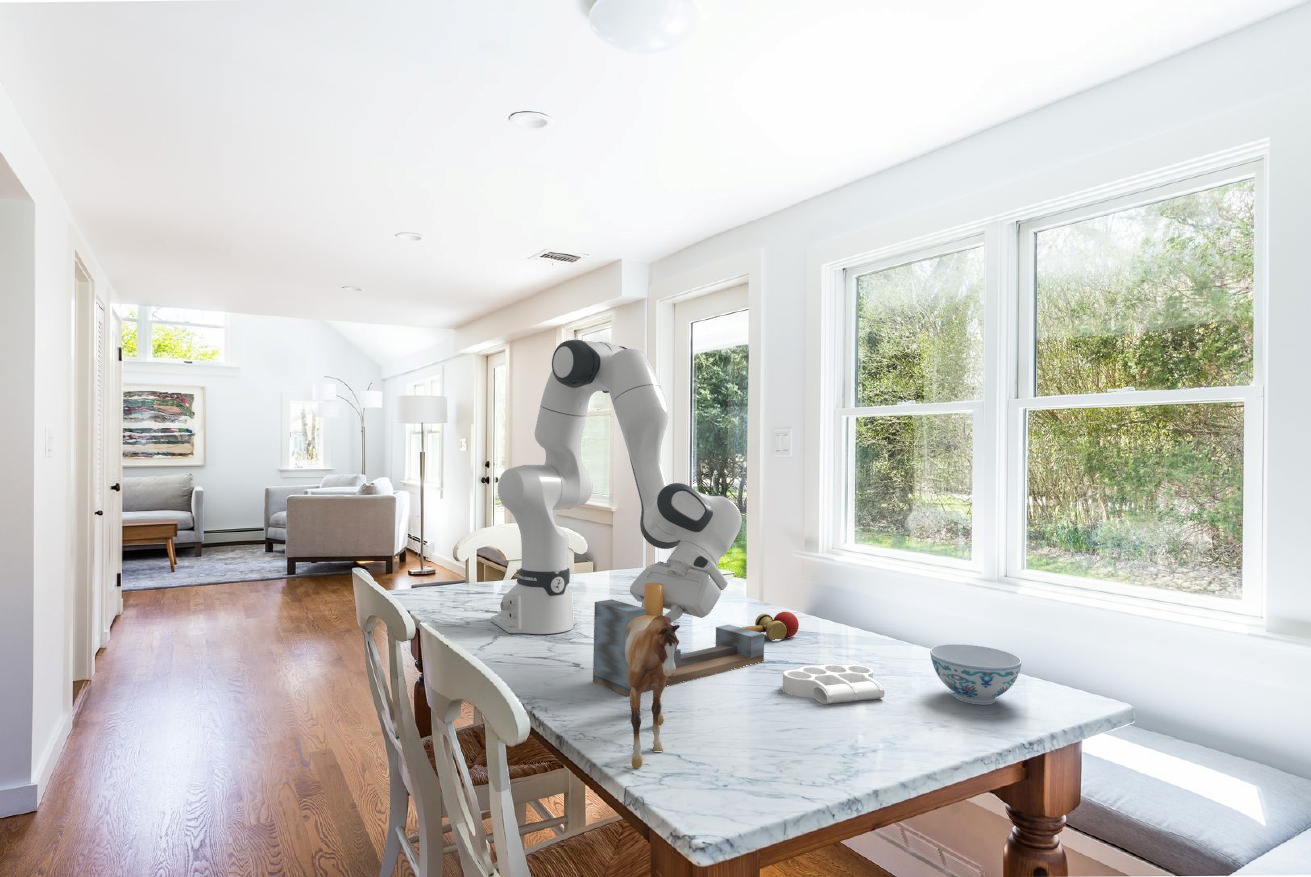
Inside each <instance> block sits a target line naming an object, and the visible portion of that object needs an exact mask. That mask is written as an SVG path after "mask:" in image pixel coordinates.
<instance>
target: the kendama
mask: <svg viewBox="0 0 1311 877" xmlns="http://www.w3.org/2000/svg"><path fill="white" fill-rule="evenodd" d="M741 628H744V629H748V630H752V631H756V632H759V633H765V634H766V637H767V638H768V640H770V641H771V640H775V639H782V640H784V637H789V638H791V637H793V636H795V635H796V634H797V632H798V631H799V619H798V618H797V616H795V614H793V613H792V612H790V611H781V612H779V613H777V614H776V615H775V616H774V618H773V616H772V615H770V614H768V613H761V614H759V615H758V616H757V617H756V619H755V622H754V625H748V626H743V627H741Z"/></svg>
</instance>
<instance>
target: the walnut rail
mask: <svg viewBox="0 0 1311 877" xmlns="http://www.w3.org/2000/svg"><path fill="white" fill-rule="evenodd" d="M593 611H594V615H593V617H594V618H593V622H594V623H593V656H592V657H593V662H592V663H593V664H592V669H593V670H592V683H594V684H596V685H598V686H601V685H602V686H601V687H603V686H604V687H603V688H606V689H609V690H610V689H611V691H613V692H615V693H618V694H620V695H622V696H625V697H630V691H631V688H630V686H629V683H628V678H627V675H628V669H629V665H628V663H627V662H626V658H625V644H626V640H627V626H628V624H629V622H630V621H631V620H633V619H634V618H636V617H639V616H644V615H646V609H645V608H642V607H641V606H638V605H634V604H630V603H627V602H624V601H623V602H622V601H619V600H615V599H607V600H598V601H594V610H593ZM762 661H764V662H765V633H764V632H761V633H759V632H756V631H752V630H748V629H744V628H742V627H739V626H735V625H732V624H726V625H720V626H715V646H713V647H707V648H703V649H699V650H694V651H690V652H685V653H681V659H680V664H676V665H675V667H676V670H675V671H674V672H673V677H671V678H668V679H670V680H671V681H672V682H668V681H666V684H665V686H666V687H668V686H667V685H670V686H674V685H678V684H681V683H680V682H682V683H684V682H683V681H686V682H690V681H693V679H694V680H697V678H698V679H701V678H700V677H702V678H704V677H705V678H706V677H708V676H713V675H716V673H717V674H721V673H724V672H729V671H732V670H731V669H733V670H735V669H734V668H737V669H741V668H744V667H743V666H745V667H747V666H746V665H749V666H751V665H750V664H753V665H756V664H755V663H757V664H759V663H758V662H761V663H763V662H762ZM740 667H741V668H740ZM728 670H729V671H728ZM712 674H713V675H712ZM650 691H653V687H652V686H650V687H648V688H647V689H645V690H644V691H643V692H642V693H645V692H650Z"/></svg>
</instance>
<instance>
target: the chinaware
mask: <svg viewBox="0 0 1311 877" xmlns="http://www.w3.org/2000/svg"><path fill="white" fill-rule="evenodd" d="M929 654H930V659H931V662H932V666H933V668H934V671H935V674H936V675H937V676H938V678H939V679H940V680H941V682H942V683H943V684H944V685H945V686H946V687H947V688H948V689H950V691H952V692H953V696H954V698H956V700H959V701H961V702H963V703H967V704H970V705H971V704H973V705H981V706H984V705H992V704H994V703H995V701H996V698H997V697H1000V696H1001V695H1003V694H1005V693H1006V692H1008V691H1009V689H1010V688H1012V686H1013V685H1014V683H1016V681H1017V679H1018V677H1019V674H1020V672H1021V667H1022V659H1021V658H1020V657H1019V656H1018V655H1015V654H1013V653H1011V652H1009V651H1005V650H1001V649H999V648H998V649H997V648H994V647H989V646H984V645H983V646H981V645H974V644H973V645H972V644H964V643H963V644H960V643H958V644H957V643H956V644H955V643H954V644H953V643H952V644H950V643H949V644H948V643H947V644H940V645H936V646H932V648H930V650H929Z"/></svg>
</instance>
